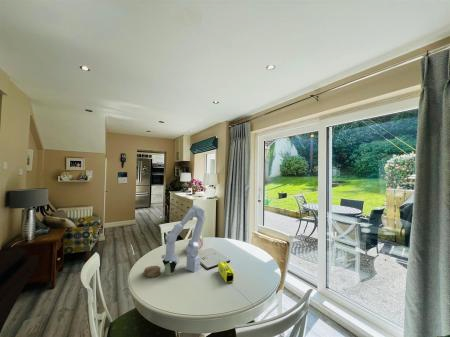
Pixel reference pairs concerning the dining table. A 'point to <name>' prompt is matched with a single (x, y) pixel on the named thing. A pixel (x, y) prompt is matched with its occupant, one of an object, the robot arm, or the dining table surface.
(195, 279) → the dining table surface
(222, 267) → the yellow toy chassis
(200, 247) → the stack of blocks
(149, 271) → the walnut plinth
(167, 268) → the sage block
